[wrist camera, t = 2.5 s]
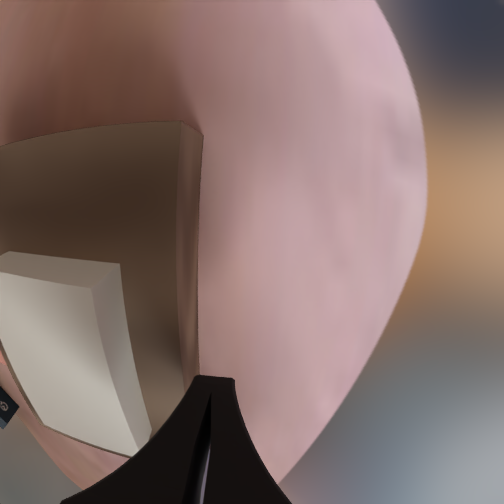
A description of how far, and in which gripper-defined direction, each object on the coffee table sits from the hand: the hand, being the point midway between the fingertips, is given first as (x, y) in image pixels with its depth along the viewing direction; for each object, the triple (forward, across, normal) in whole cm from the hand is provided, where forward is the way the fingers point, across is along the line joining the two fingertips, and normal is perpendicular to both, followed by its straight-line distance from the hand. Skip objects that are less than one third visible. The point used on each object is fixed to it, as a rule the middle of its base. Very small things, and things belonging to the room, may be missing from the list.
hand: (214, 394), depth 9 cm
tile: (+1, +6, 0) cm, 6 cm away
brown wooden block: (+5, +7, 0) cm, 9 cm away
